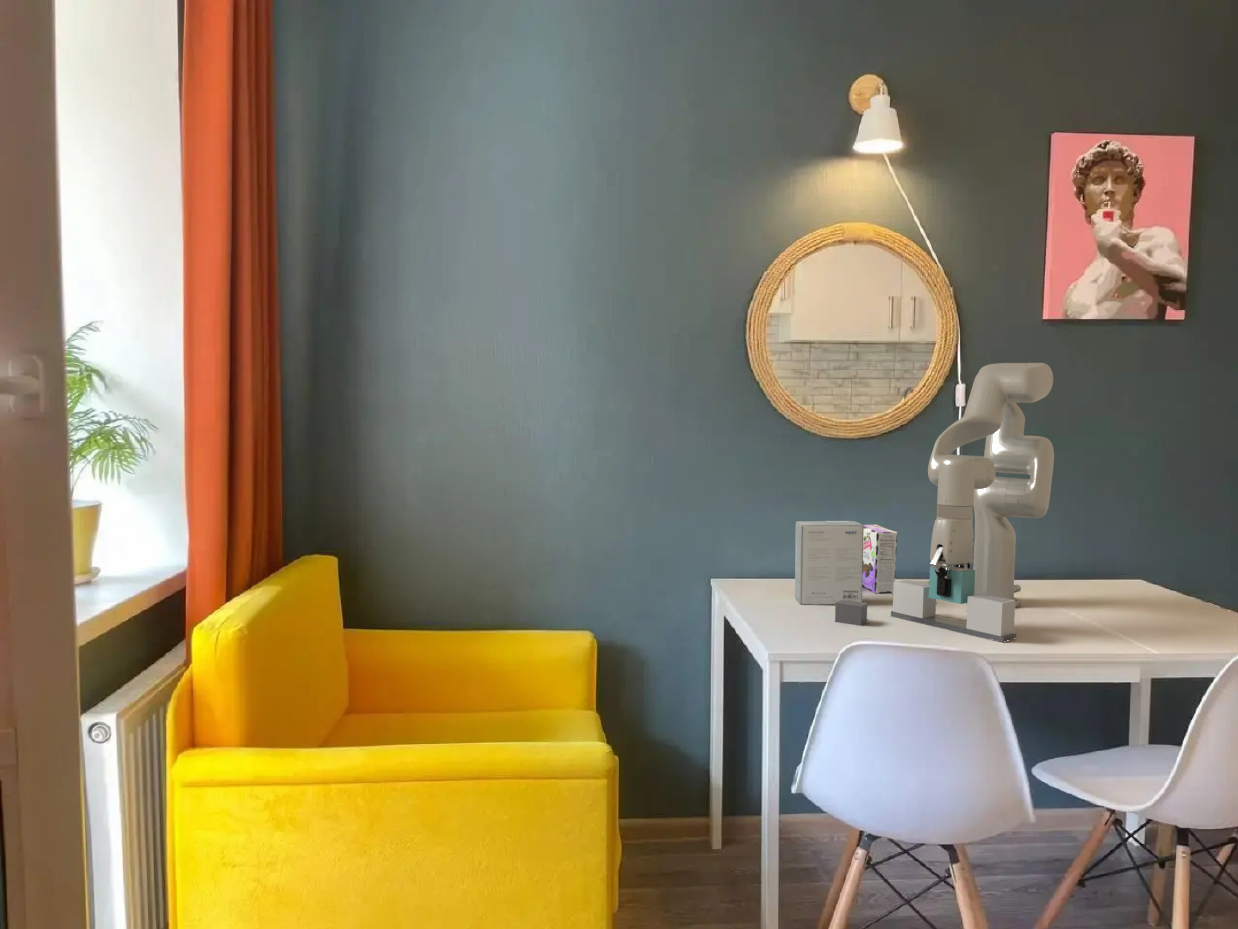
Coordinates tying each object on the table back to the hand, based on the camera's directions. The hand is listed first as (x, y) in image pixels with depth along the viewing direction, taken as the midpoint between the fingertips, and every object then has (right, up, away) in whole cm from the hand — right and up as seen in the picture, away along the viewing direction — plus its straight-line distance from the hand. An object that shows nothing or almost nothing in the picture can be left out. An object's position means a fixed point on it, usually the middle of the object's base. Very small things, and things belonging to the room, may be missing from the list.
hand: (951, 593), depth 202 cm
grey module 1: (-6, -6, +8) cm, 11 cm away
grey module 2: (+6, -7, -7) cm, 11 cm away
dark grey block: (-21, -7, +4) cm, 23 cm away
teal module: (0, -1, 0) cm, 1 cm away
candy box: (-5, -5, +42) cm, 43 cm away
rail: (0, -8, +1) cm, 8 cm away
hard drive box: (-22, -6, +25) cm, 34 cm away
